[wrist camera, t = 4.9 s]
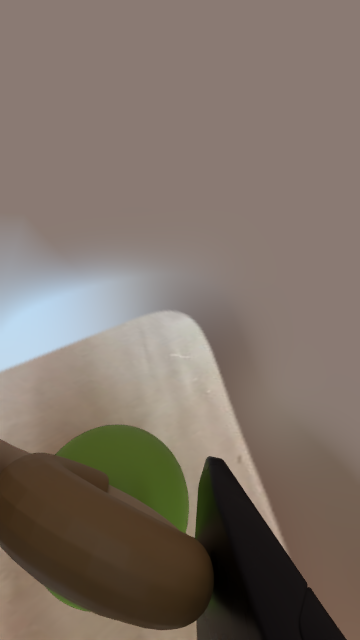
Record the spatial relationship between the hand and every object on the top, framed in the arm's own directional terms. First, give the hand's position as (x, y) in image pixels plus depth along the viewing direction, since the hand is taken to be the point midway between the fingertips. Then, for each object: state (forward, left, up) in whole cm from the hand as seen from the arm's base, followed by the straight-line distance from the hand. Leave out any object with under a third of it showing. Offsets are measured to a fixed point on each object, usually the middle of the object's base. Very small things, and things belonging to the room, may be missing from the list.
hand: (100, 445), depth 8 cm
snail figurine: (-1, +1, -7) cm, 7 cm away
